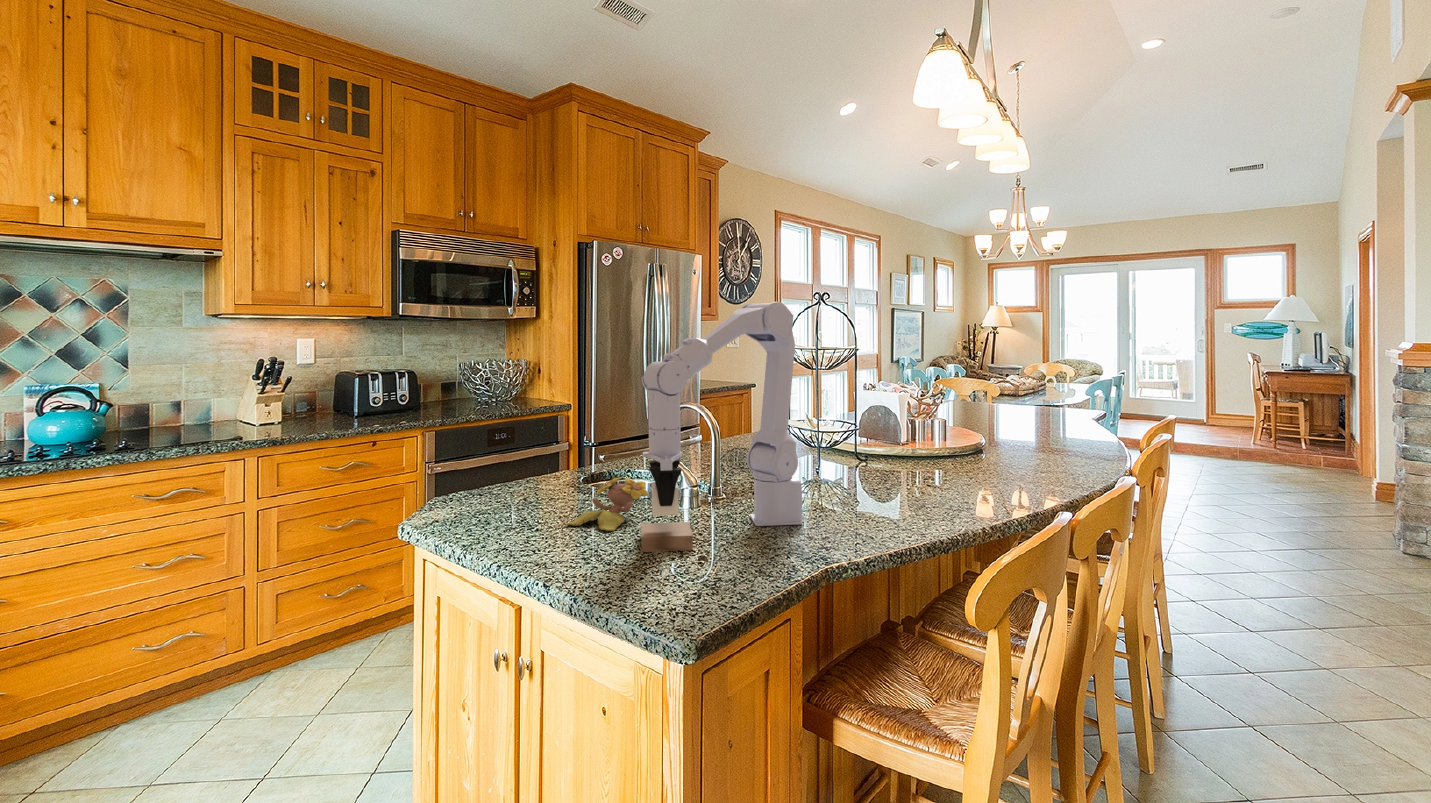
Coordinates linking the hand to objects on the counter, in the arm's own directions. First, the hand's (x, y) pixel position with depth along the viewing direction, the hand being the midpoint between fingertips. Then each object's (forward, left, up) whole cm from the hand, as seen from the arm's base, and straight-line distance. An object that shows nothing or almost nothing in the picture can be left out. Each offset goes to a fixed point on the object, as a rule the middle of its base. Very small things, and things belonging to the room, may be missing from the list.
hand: (665, 502), depth 125 cm
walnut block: (0, 0, -8) cm, 8 cm away
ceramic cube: (0, 0, -2) cm, 2 cm away
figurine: (+11, -17, -8) cm, 22 cm away
